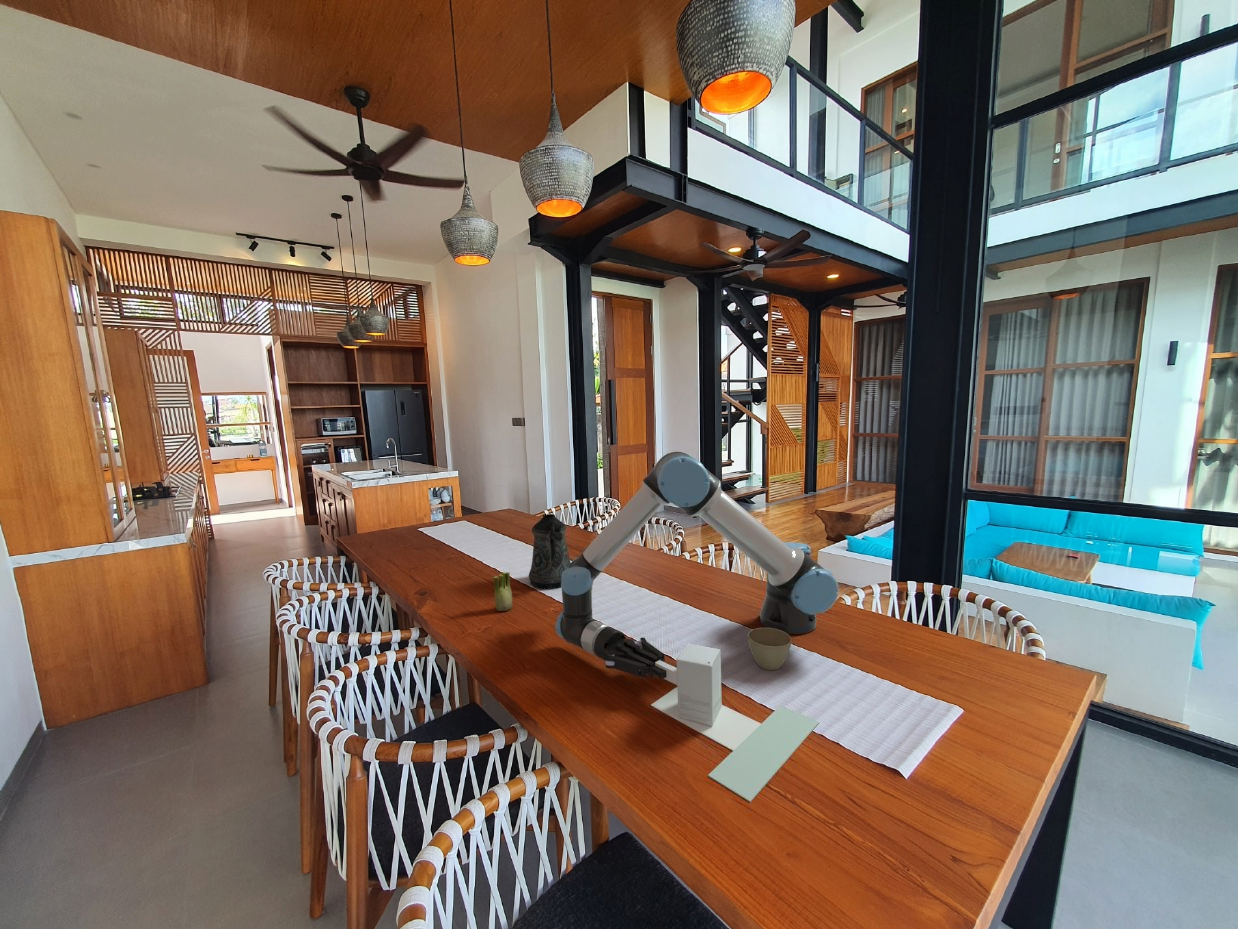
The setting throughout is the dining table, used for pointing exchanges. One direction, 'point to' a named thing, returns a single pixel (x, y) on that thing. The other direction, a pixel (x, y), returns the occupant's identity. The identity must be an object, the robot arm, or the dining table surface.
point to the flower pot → (769, 647)
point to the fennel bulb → (503, 592)
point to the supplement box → (699, 684)
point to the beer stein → (549, 553)
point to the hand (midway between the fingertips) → (681, 678)
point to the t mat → (748, 743)
